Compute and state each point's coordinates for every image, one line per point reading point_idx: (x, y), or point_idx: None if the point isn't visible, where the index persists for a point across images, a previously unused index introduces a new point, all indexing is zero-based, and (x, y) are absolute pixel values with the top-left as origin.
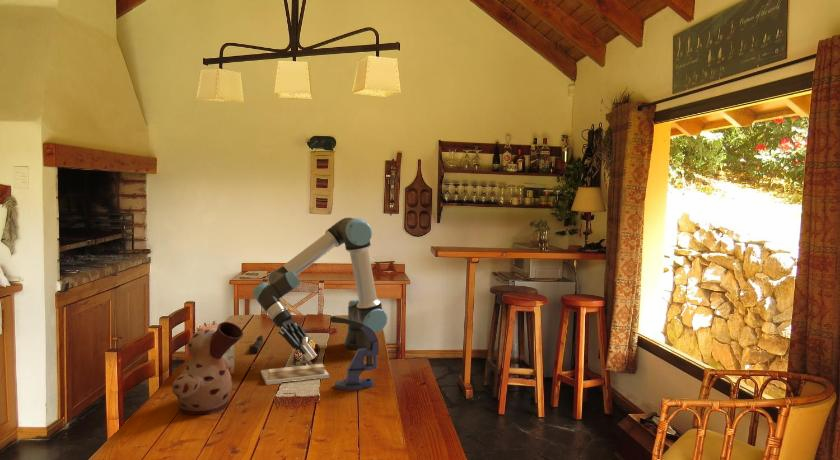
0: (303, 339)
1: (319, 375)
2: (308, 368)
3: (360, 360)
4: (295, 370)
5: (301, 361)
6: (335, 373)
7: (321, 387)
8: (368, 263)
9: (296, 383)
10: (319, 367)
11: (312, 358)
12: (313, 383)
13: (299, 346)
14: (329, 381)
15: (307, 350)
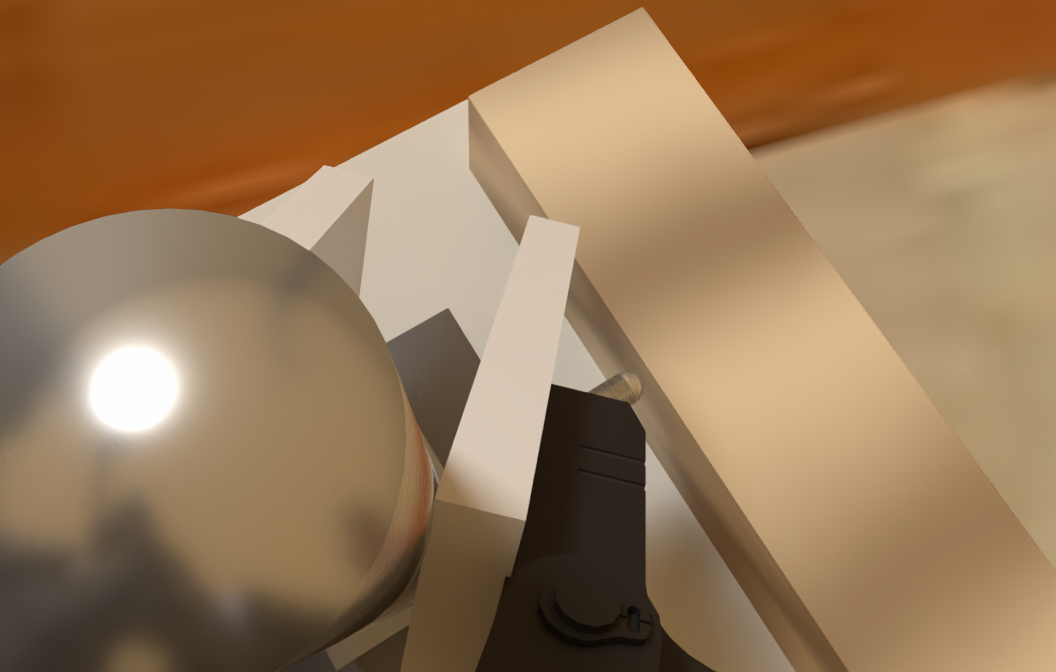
0: (403, 503)
1: None
2: (841, 286)
3: None
4: (1015, 537)
5: None
6: (374, 14)
7: (1043, 54)
8: None
9: (1021, 474)
10: (702, 97)
11: None
12: (926, 208)
13: (677, 652)
14: (766, 12)
15: (526, 339)
